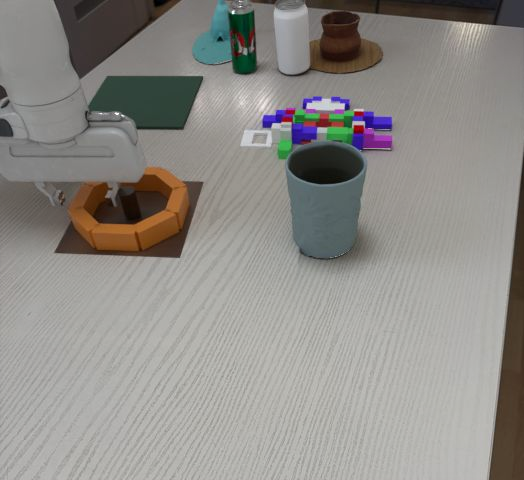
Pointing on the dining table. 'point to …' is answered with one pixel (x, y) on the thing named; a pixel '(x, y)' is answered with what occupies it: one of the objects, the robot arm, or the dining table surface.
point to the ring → (141, 232)
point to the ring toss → (132, 212)
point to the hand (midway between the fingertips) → (86, 204)
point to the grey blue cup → (325, 196)
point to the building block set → (320, 126)
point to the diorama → (215, 38)
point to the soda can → (242, 36)
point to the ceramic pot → (342, 45)
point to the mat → (149, 99)
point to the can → (292, 36)
